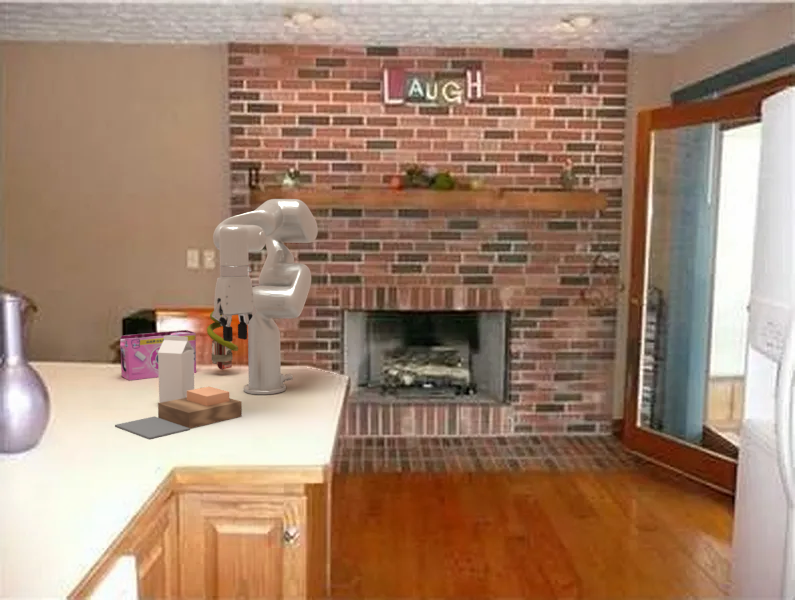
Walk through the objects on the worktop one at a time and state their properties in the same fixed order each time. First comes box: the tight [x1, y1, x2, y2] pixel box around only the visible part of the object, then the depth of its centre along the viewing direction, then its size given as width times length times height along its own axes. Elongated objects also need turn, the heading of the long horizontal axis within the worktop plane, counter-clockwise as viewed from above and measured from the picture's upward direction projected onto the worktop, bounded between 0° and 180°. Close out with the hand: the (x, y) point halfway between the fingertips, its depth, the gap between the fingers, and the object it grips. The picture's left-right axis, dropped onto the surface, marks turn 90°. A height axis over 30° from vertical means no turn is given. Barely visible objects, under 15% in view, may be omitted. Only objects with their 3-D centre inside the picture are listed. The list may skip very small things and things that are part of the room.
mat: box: [114, 416, 191, 440], centre depth 190 cm, size 11×16×1 cm
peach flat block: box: [187, 386, 230, 406], centre depth 202 cm, size 7×9×2 cm
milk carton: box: [158, 336, 195, 403], centre depth 214 cm, size 7×7×19 cm
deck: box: [157, 397, 243, 429], centre depth 200 cm, size 16×14×4 cm
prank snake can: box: [206, 310, 239, 370], centre depth 254 cm, size 12×10×25 cm
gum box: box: [119, 329, 197, 381], centre depth 251 cm, size 24×8×14 cm, turn 128°
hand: (235, 339), depth 207 cm, fingers open, 4 cm apart
